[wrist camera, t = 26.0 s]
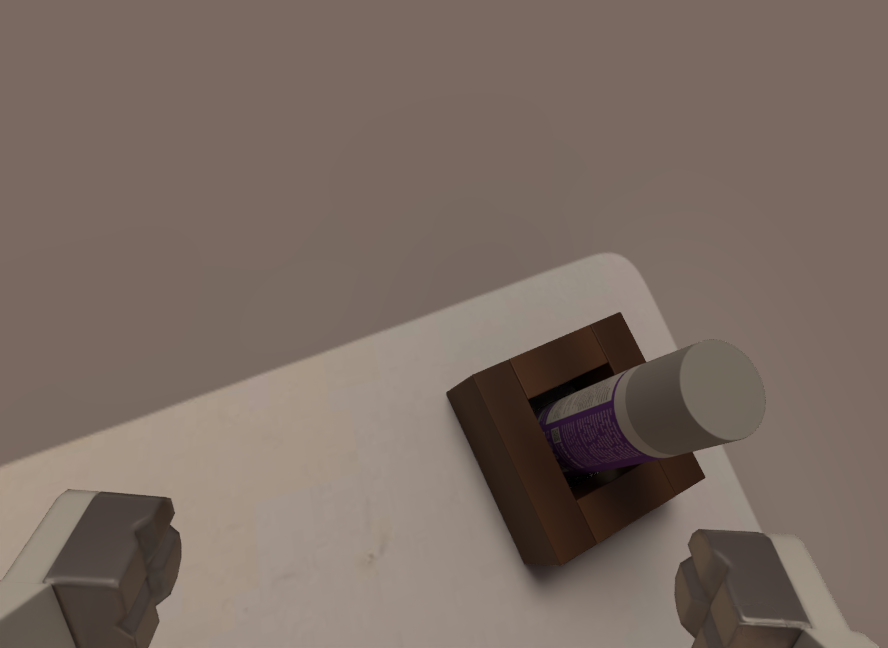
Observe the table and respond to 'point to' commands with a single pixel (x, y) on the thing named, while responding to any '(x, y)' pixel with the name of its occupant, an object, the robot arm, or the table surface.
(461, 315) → the table surface
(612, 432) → the container
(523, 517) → the socket
